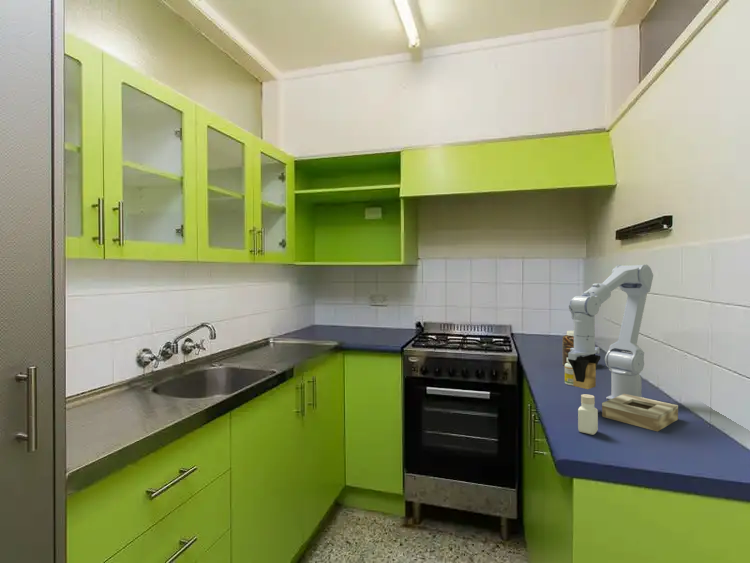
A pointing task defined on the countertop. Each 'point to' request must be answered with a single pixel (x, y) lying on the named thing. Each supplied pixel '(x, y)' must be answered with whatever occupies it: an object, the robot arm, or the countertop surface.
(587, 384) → the ochre peg
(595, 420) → the pepper shaker
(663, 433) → the countertop surface
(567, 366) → the supplement bottle
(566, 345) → the jar
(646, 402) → the posting box
